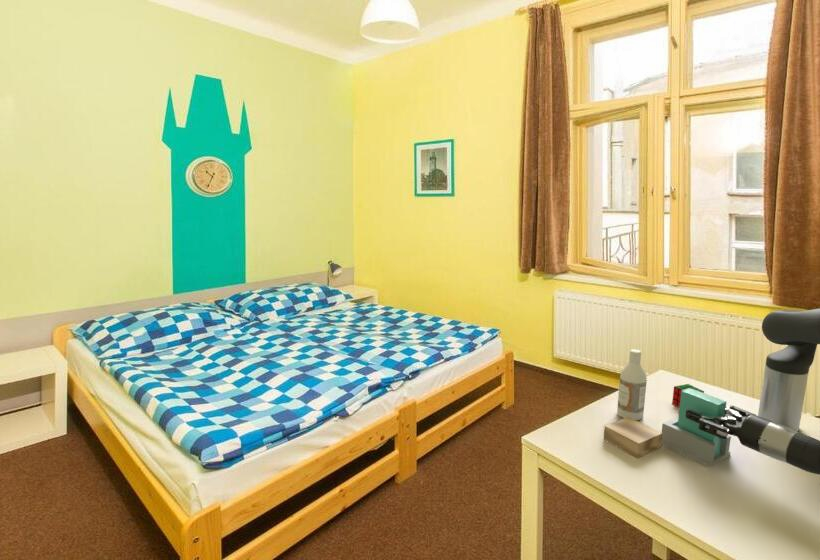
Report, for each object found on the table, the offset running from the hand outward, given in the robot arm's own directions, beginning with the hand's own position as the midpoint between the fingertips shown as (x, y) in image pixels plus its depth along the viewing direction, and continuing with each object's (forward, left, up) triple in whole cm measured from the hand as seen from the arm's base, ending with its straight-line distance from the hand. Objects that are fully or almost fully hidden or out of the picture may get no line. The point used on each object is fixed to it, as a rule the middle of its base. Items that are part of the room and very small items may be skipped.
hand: (696, 409), depth 120 cm
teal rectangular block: (0, +1, -10) cm, 10 cm away
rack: (0, 0, -11) cm, 11 cm away
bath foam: (-2, -19, -11) cm, 22 cm away
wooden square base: (+11, -9, -11) cm, 18 cm away
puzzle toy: (-22, -14, -11) cm, 29 cm away
